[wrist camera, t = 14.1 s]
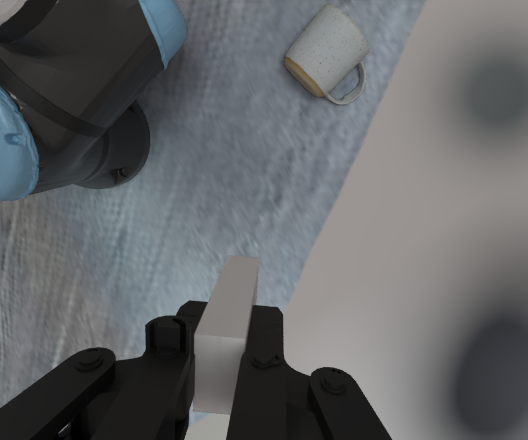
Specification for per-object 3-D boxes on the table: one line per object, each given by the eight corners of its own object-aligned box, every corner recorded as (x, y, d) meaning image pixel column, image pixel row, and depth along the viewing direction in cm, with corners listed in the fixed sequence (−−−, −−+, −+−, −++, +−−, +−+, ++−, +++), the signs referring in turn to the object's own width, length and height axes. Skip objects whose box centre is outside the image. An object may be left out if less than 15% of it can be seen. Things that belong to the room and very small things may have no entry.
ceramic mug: (278, 66, 46) (279, 54, 38) (321, 14, 44) (330, -9, 36) (335, 120, 47) (346, 118, 40) (378, 72, 45) (398, 62, 38)
